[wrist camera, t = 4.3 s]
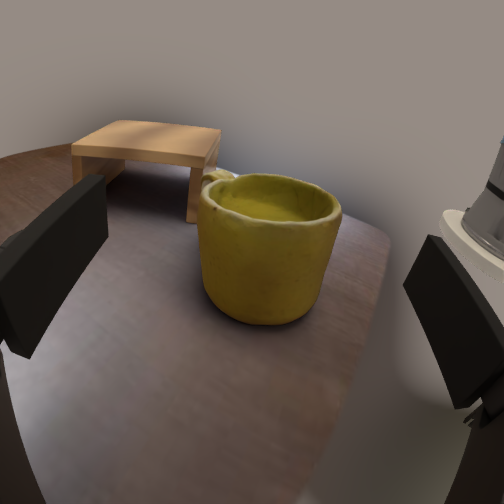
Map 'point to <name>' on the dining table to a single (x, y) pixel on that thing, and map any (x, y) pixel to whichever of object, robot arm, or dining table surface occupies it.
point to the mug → (264, 244)
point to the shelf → (148, 152)
